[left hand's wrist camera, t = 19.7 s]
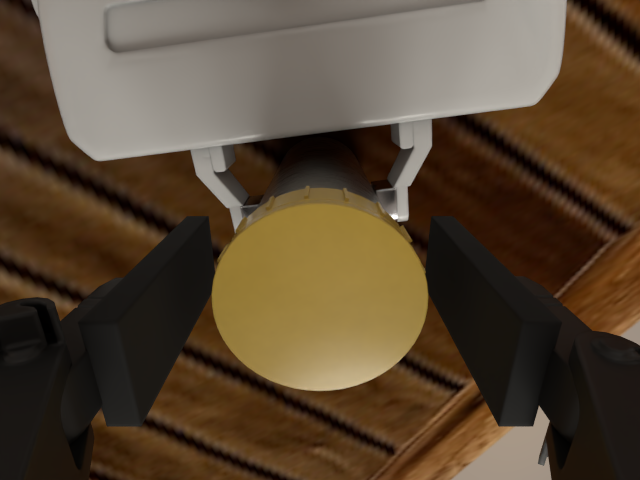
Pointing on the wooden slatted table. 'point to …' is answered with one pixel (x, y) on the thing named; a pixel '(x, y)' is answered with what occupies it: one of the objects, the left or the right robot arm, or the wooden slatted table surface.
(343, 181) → the jar
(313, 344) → the lid
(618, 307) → the wooden slatted table surface
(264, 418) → the wooden slatted table surface
